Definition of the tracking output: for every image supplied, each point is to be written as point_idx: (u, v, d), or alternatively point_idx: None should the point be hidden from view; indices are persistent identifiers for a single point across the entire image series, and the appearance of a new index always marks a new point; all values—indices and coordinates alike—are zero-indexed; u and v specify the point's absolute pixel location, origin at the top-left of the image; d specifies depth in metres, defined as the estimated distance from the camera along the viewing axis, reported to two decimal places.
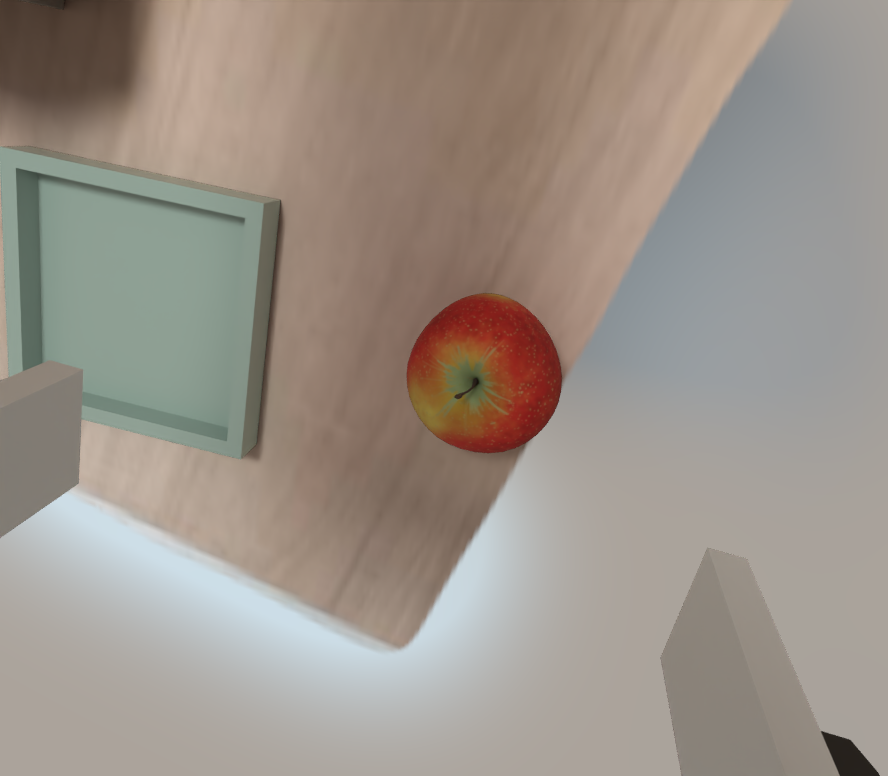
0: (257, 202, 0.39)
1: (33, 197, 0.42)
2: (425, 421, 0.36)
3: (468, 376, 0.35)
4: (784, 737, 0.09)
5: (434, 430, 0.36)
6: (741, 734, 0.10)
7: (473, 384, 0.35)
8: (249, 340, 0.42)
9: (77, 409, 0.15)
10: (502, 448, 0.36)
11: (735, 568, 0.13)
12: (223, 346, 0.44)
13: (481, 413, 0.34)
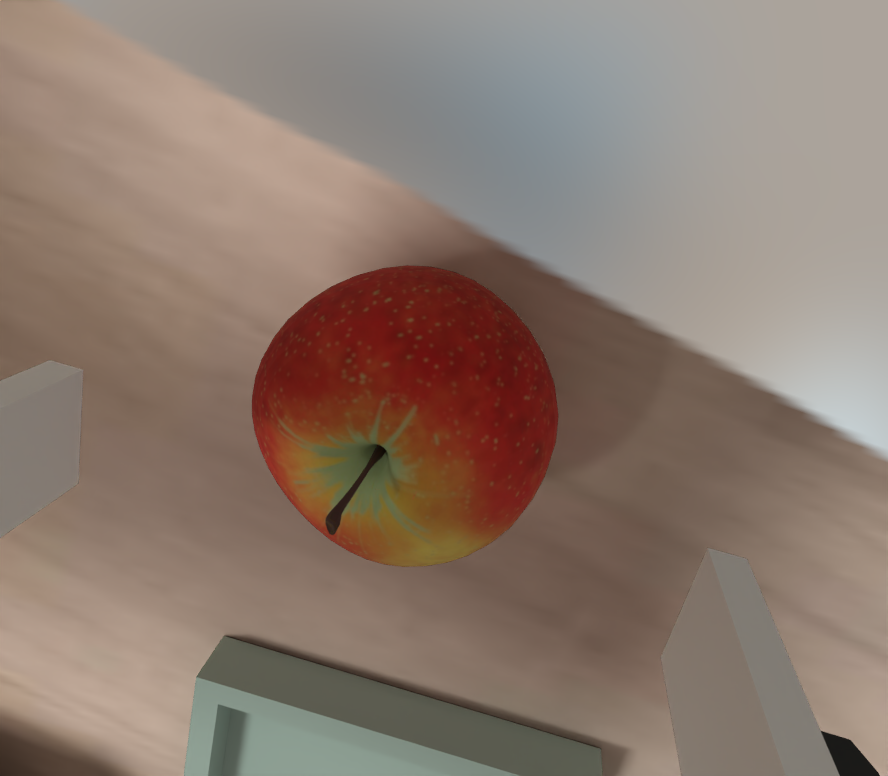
0: (197, 683, 0.27)
1: None
2: (461, 553, 0.18)
3: (366, 463, 0.18)
4: (784, 737, 0.09)
5: (477, 542, 0.18)
6: (741, 734, 0.10)
7: None
8: (396, 740, 0.26)
9: (77, 409, 0.15)
10: (518, 413, 0.16)
11: (735, 568, 0.13)
12: None
13: (415, 459, 0.16)
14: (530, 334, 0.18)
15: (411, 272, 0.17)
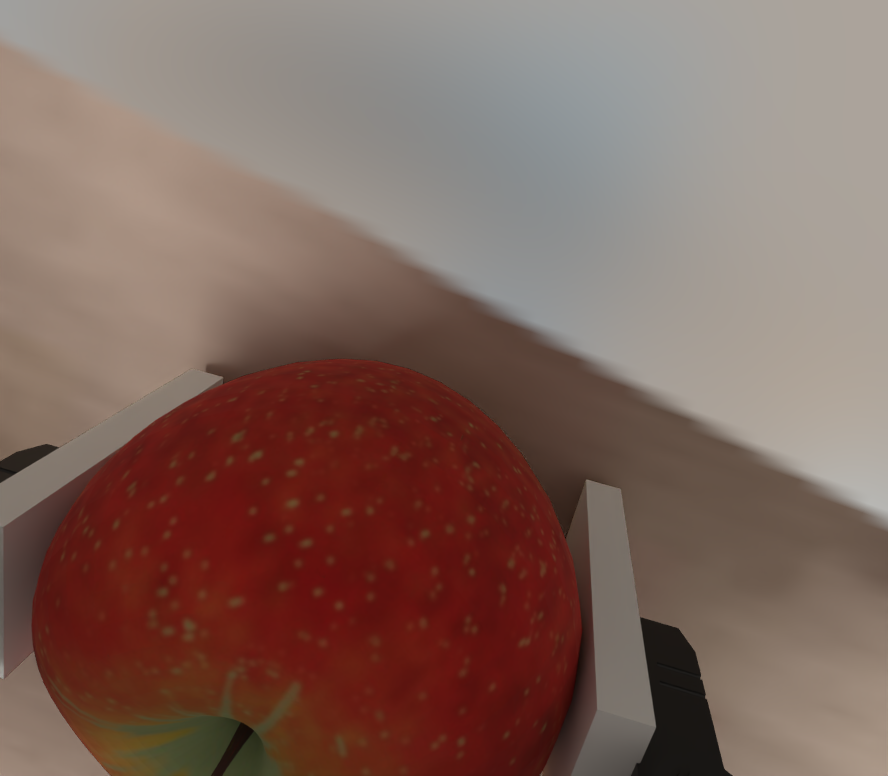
0: None
1: None
2: None
3: (233, 730, 0.10)
4: (603, 614, 0.11)
5: None
6: None
7: (230, 745, 0.09)
8: None
9: None
10: (507, 678, 0.08)
11: (606, 495, 0.14)
12: None
13: (302, 774, 0.08)
14: (533, 492, 0.10)
15: (315, 388, 0.09)
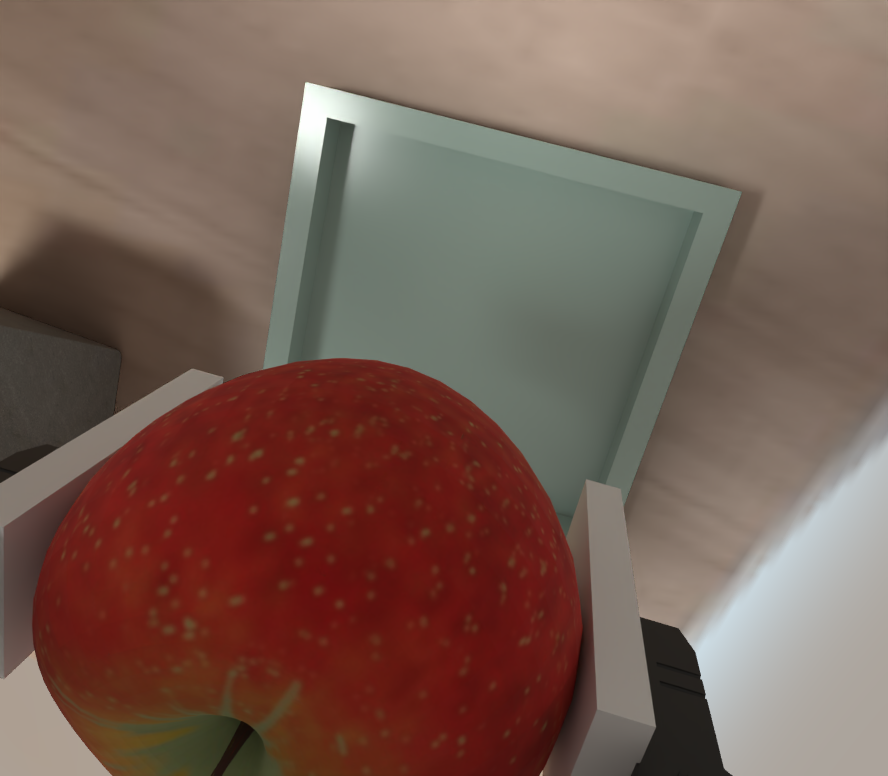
0: (305, 94, 0.26)
1: None
2: None
3: (234, 728, 0.10)
4: (603, 614, 0.11)
5: None
6: None
7: (231, 743, 0.09)
8: (519, 139, 0.25)
9: None
10: (507, 676, 0.08)
11: (606, 495, 0.14)
12: (542, 213, 0.27)
13: (302, 773, 0.08)
14: (533, 491, 0.10)
15: (315, 387, 0.09)
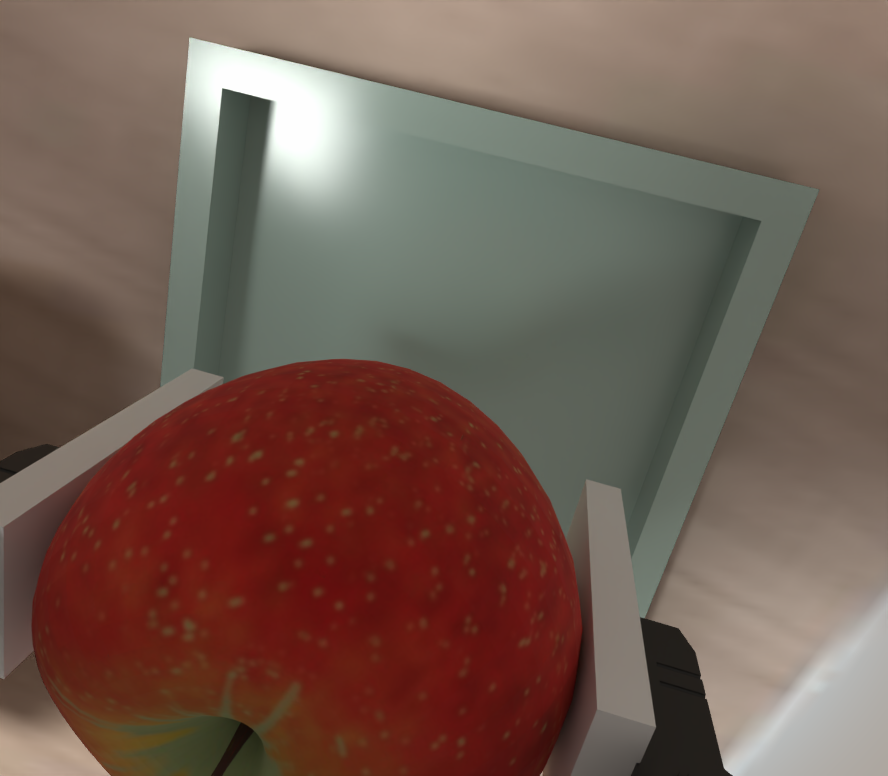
0: (191, 55, 0.18)
1: None
2: None
3: (234, 730, 0.10)
4: (603, 614, 0.11)
5: None
6: None
7: (230, 745, 0.09)
8: (494, 116, 0.17)
9: None
10: (507, 678, 0.08)
11: (606, 495, 0.14)
12: (530, 220, 0.20)
13: (302, 775, 0.08)
14: (533, 492, 0.10)
15: (315, 388, 0.09)
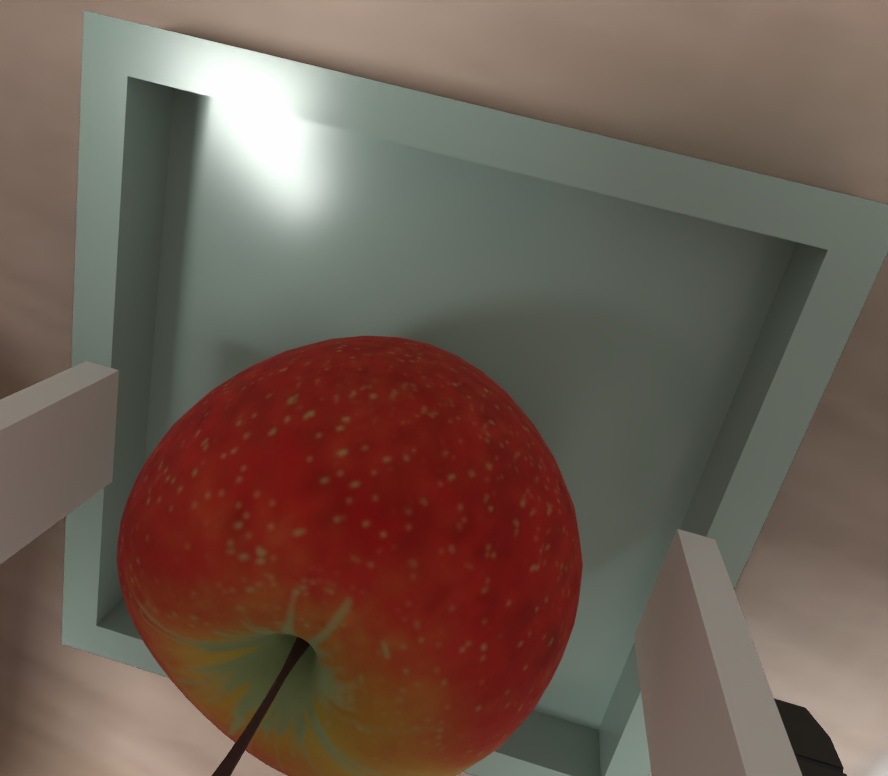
0: (87, 33, 0.14)
1: None
2: None
3: (288, 650, 0.11)
4: (737, 701, 0.10)
5: (459, 772, 0.11)
6: (699, 701, 0.10)
7: (288, 659, 0.11)
8: (476, 111, 0.13)
9: (112, 409, 0.15)
10: (520, 596, 0.10)
11: (703, 548, 0.13)
12: (525, 245, 0.16)
13: (352, 676, 0.10)
14: (540, 447, 0.12)
15: (353, 359, 0.11)
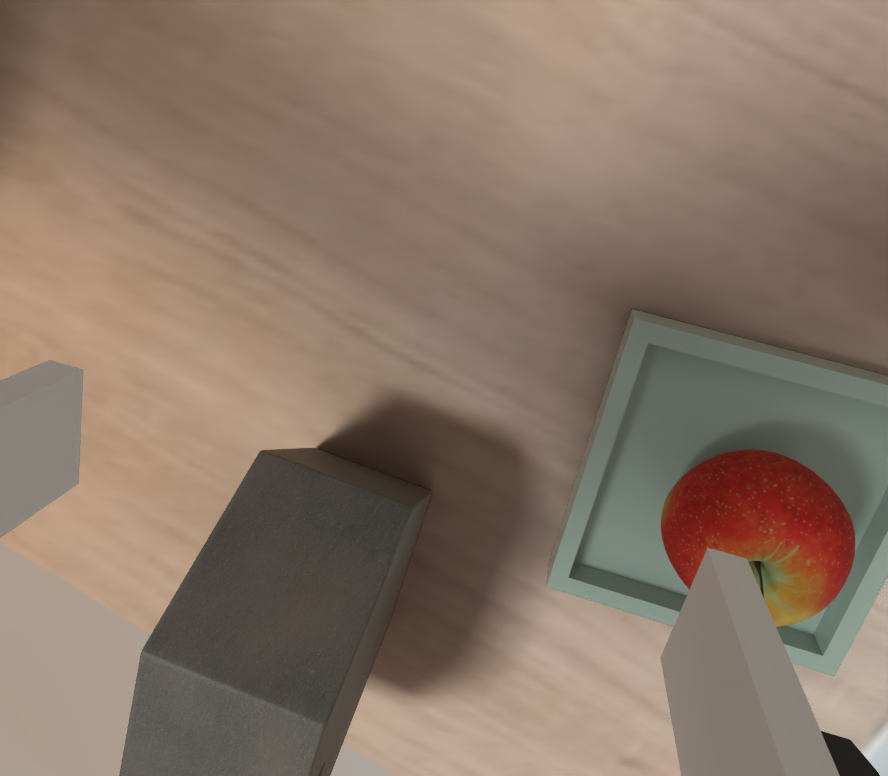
0: (632, 326, 0.34)
1: (599, 573, 0.40)
2: (800, 621, 0.32)
3: None
4: (784, 737, 0.09)
5: (813, 615, 0.31)
6: (741, 734, 0.10)
7: (757, 570, 0.31)
8: (800, 364, 0.33)
9: (77, 409, 0.15)
10: (847, 547, 0.30)
11: (735, 568, 0.13)
12: (801, 407, 0.36)
13: (793, 572, 0.30)
14: (838, 496, 0.32)
15: (775, 464, 0.31)
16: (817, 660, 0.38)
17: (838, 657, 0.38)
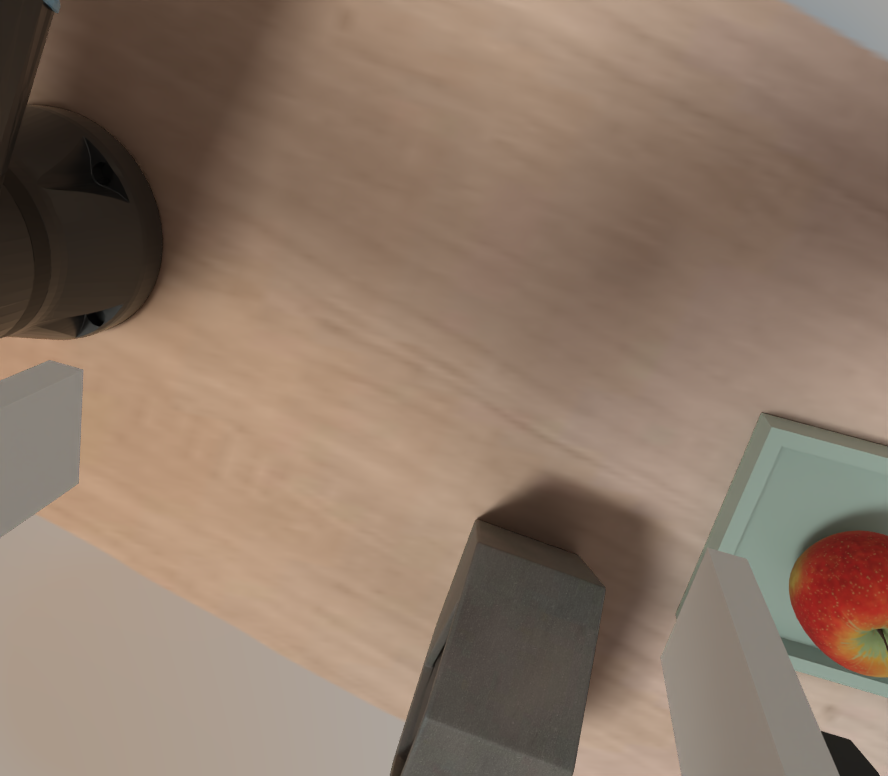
0: (769, 432, 0.42)
1: None
2: None
3: (872, 634, 0.40)
4: (784, 737, 0.09)
5: None
6: (741, 734, 0.10)
7: (881, 636, 0.39)
8: None
9: (77, 409, 0.15)
10: None
11: (735, 568, 0.13)
12: None
13: None
14: None
15: None
16: None
17: None
